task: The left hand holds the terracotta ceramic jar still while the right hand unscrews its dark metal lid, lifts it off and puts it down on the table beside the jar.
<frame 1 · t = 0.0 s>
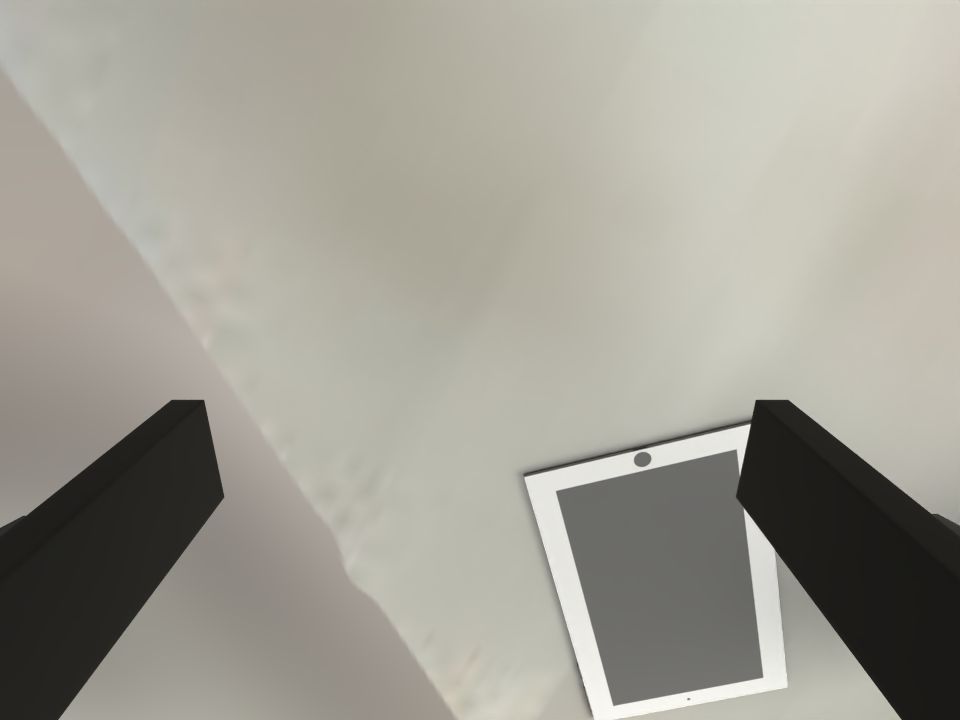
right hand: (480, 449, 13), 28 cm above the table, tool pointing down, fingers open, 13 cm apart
tablet: (665, 587, 50), on the table
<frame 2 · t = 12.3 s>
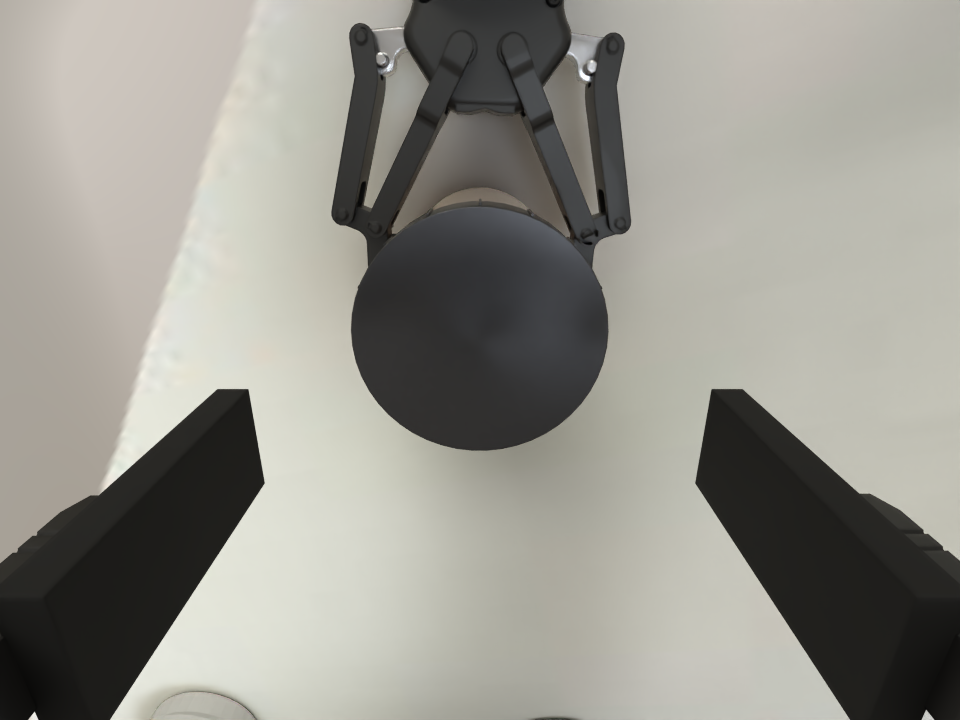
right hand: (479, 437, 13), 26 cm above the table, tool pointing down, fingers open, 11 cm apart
left hand: (477, 344, 33), fingers closed on jar, 9 cm apart
jar: (479, 255, 38), on the table, touching left hand
lid: (479, 336, 21), point 18 cm above the table, screwed on, not yet turned
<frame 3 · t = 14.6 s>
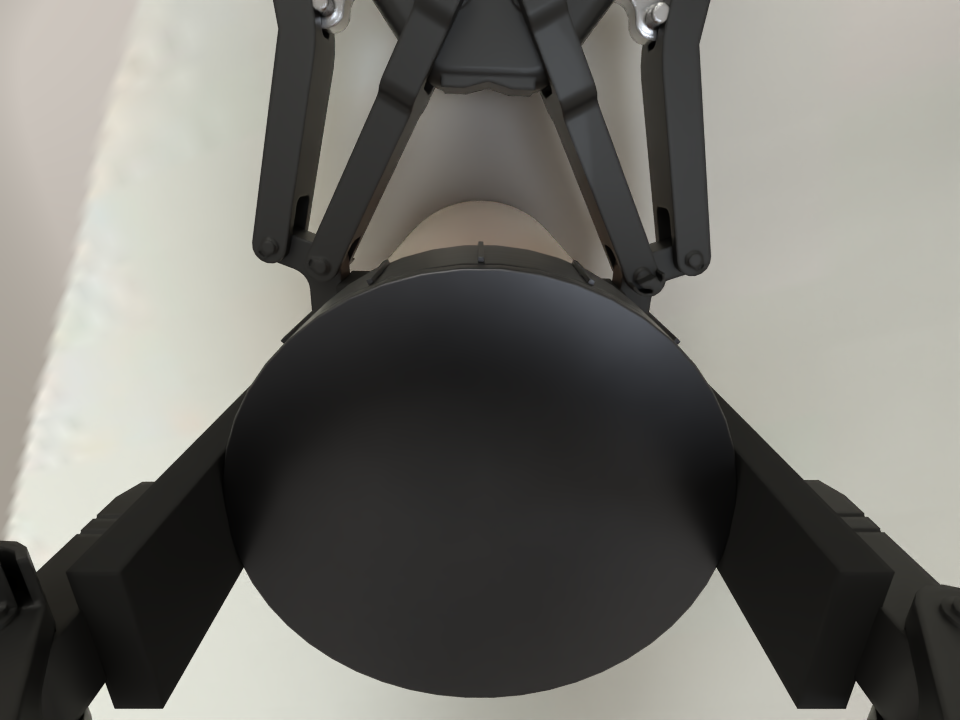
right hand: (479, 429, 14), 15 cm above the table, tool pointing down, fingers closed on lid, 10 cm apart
jar: (479, 292, 27), on the table, touching left hand
lid: (480, 509, 11), point 18 cm above the table, screwed on, not yet turned, touching right hand
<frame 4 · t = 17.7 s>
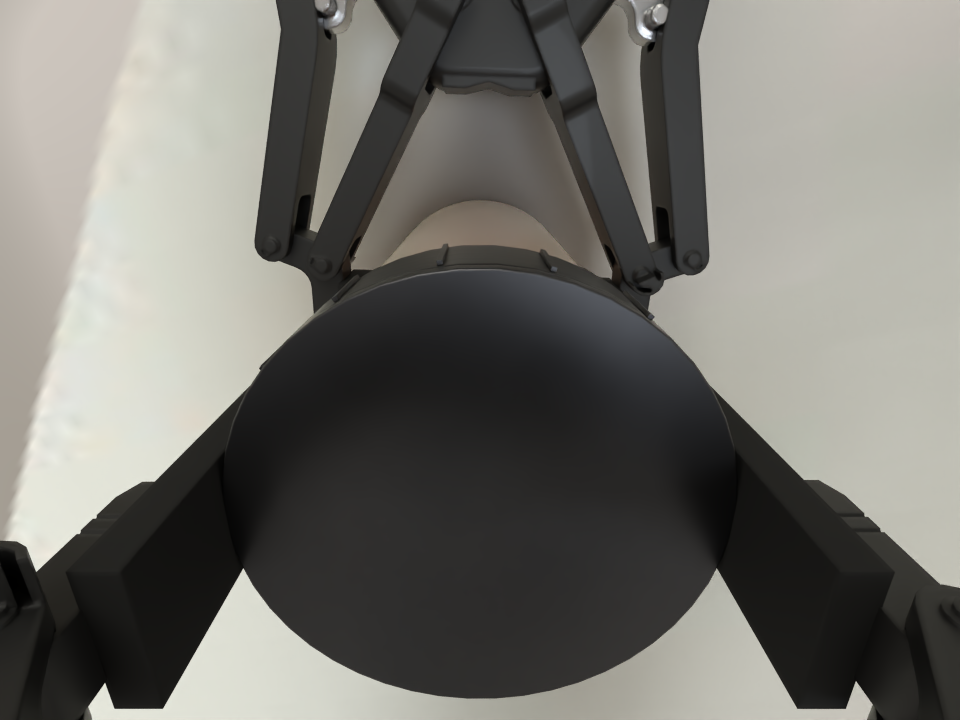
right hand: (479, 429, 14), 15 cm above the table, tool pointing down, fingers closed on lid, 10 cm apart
jar: (480, 291, 28), on the table, touching left hand
lid: (480, 510, 11), point 18 cm above the table, turned 76° so far, risen 0.2 cm, still on its thread, touching right hand
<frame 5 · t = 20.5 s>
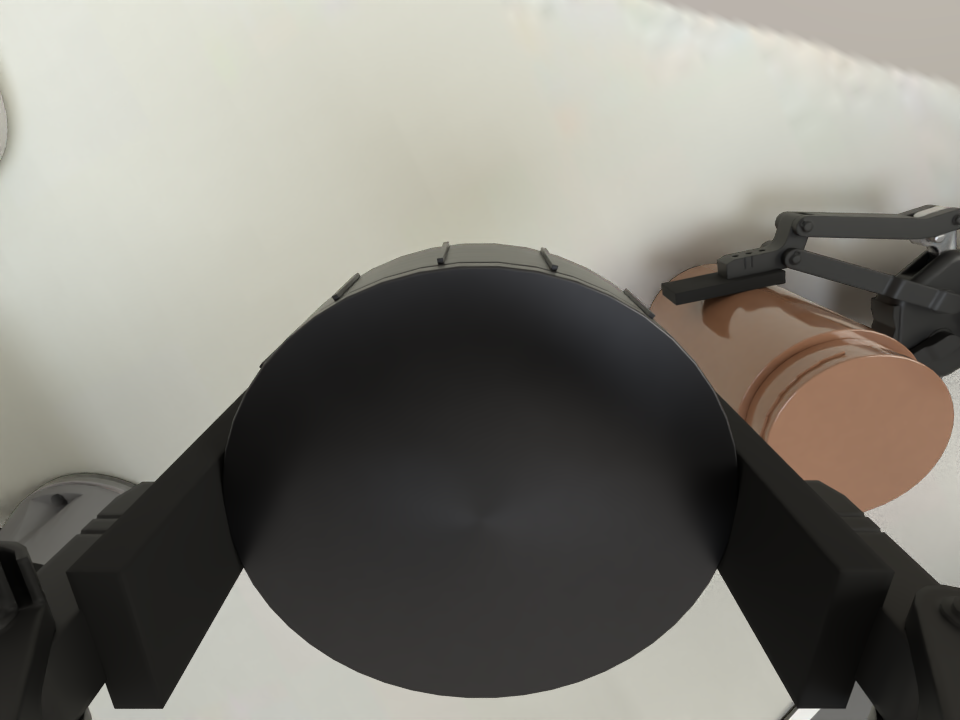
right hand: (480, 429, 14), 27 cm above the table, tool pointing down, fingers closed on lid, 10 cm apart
jar: (705, 322, 41), on the table, touching left hand
lid: (480, 509, 11), point 30 cm above the table, off its thread, touching right hand
when the right hand's fingers open (0 cm above the table, at t = 23.6 s): lid drops 2 cm, point 2 cm above the table.
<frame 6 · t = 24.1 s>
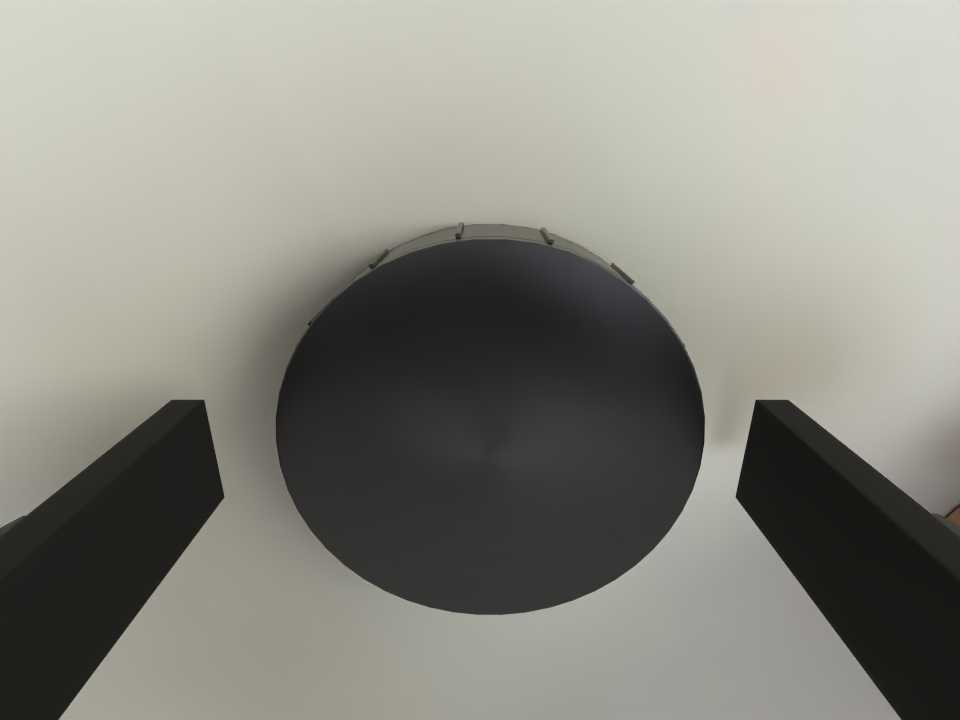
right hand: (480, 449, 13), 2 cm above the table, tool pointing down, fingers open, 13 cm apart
lid: (489, 447, 13), point 2 cm above the table, off its thread
when the left hand's fingers open (6 cm above the table, at t = 24.7 s): jar stays where it is, on the table.
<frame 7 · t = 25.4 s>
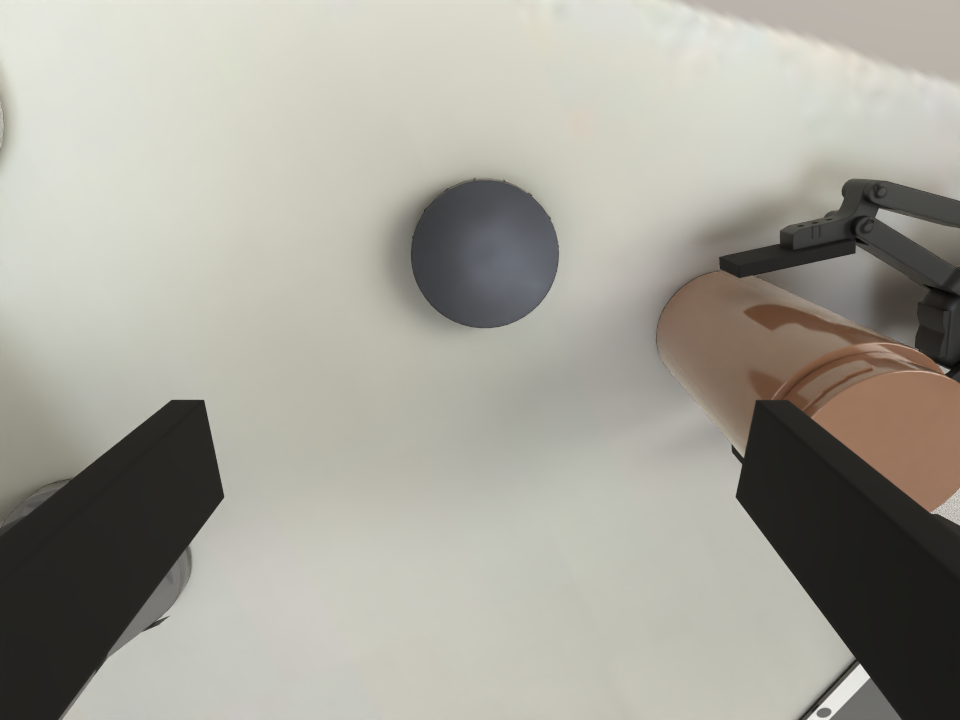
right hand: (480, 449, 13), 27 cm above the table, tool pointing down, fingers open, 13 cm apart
jar: (717, 330, 40), on the table
lid: (484, 257, 36), point 2 cm above the table, off its thread
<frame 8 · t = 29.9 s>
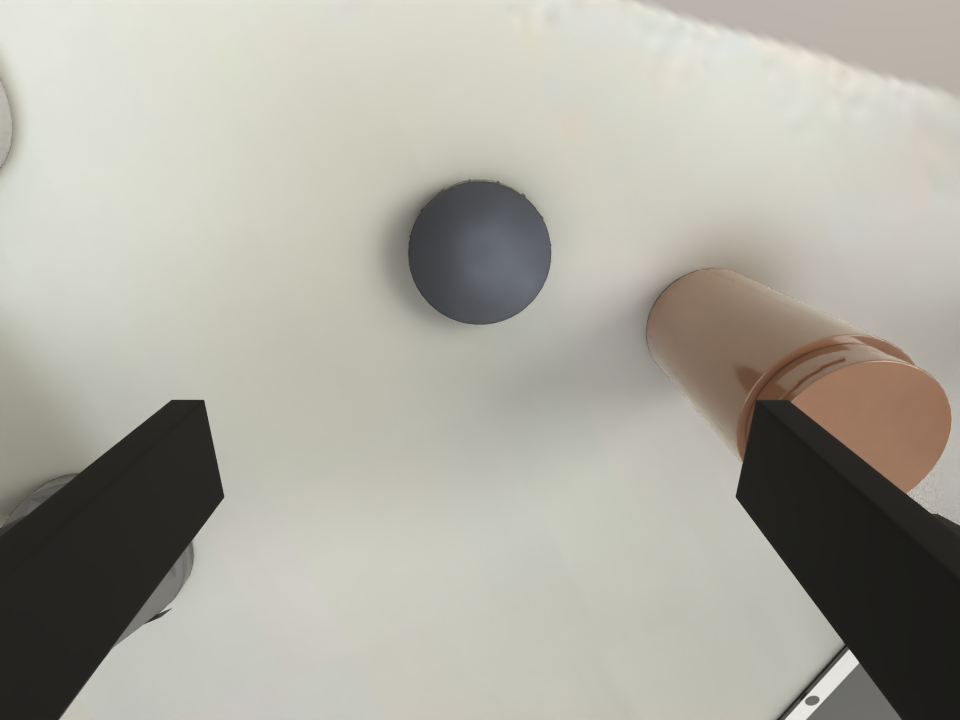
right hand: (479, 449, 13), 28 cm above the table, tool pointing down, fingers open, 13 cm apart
jar: (705, 326, 41), on the table
lid: (479, 255, 37), point 2 cm above the table, off its thread
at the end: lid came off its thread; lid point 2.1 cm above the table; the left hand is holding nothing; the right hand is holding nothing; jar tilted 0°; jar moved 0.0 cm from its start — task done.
